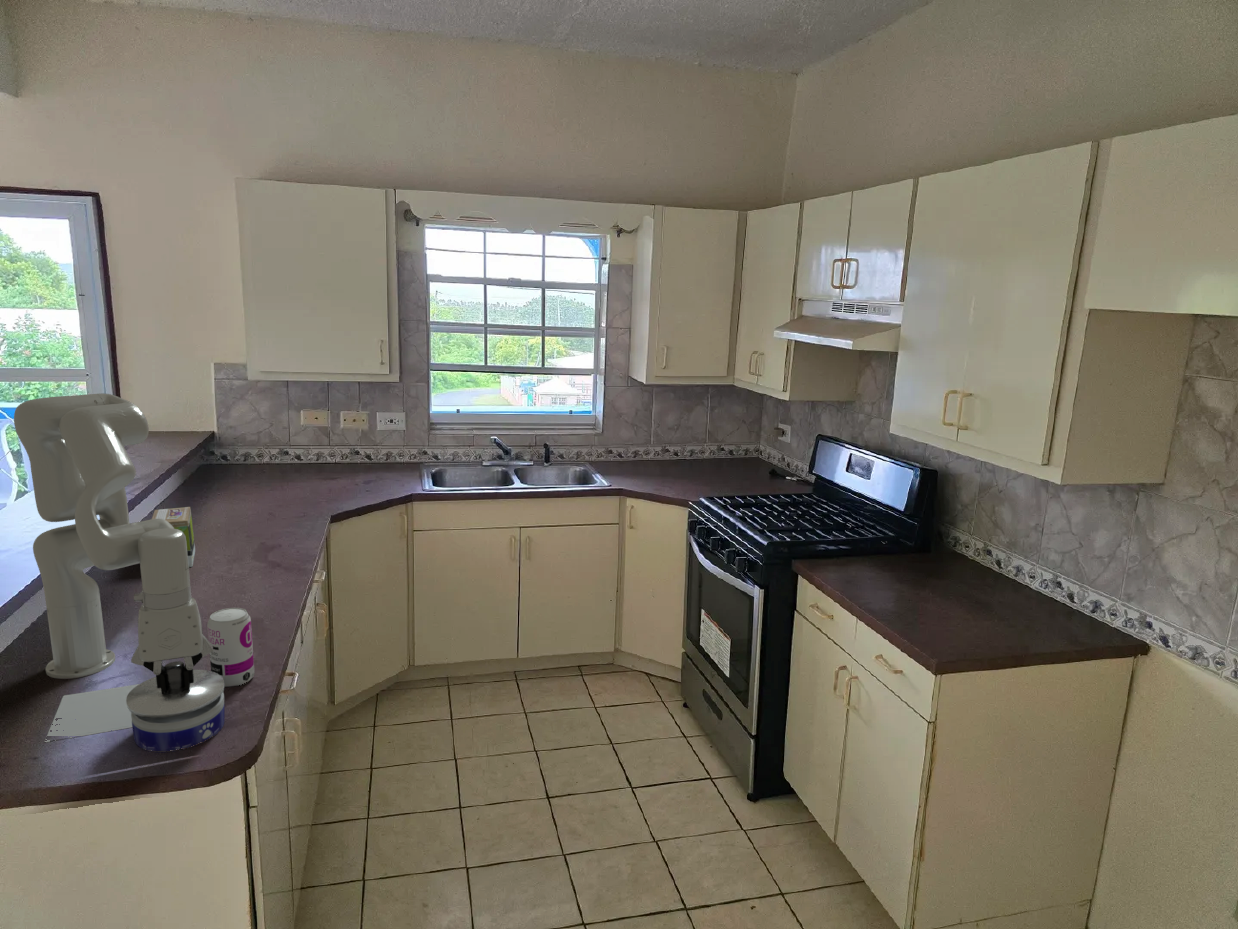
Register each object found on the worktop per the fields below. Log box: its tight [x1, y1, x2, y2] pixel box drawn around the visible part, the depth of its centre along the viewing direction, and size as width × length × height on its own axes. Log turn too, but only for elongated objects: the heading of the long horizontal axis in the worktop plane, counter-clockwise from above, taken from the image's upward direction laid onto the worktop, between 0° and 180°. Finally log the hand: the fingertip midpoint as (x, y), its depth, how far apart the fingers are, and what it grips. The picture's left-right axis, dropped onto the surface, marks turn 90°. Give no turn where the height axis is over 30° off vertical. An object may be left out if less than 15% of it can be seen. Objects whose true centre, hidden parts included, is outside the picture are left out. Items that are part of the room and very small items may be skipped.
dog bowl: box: [131, 692, 226, 751], centre depth 149 cm, size 15×15×6 cm
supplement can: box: [206, 607, 255, 688], centre depth 168 cm, size 8×8×15 cm
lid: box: [126, 660, 225, 718], centre depth 148 cm, size 16×16×6 cm
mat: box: [44, 683, 140, 743], centre depth 156 cm, size 18×18×1 cm
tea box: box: [151, 506, 196, 568], centre depth 235 cm, size 15×10×15 cm
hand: (176, 688), depth 148 cm, fingers closed on lid, 3 cm apart
